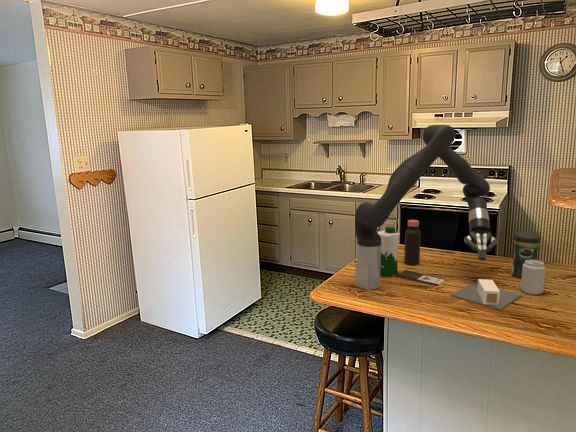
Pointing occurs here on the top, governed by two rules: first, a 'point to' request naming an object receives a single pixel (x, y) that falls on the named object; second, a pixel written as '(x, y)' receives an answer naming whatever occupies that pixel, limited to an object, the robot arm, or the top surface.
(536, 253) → the coffee jar
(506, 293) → the rubber mat
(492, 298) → the cream block
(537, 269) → the can
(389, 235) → the milk carton
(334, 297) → the top surface
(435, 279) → the chocolate bar
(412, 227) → the bottle
